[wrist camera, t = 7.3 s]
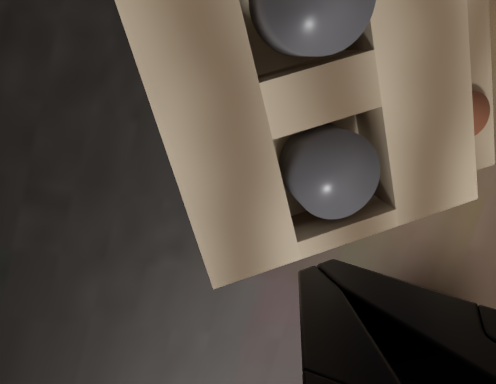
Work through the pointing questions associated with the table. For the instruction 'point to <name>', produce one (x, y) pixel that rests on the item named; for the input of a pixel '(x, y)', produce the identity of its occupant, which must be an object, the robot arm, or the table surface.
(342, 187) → the button
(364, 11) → the button middle
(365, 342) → the robot arm
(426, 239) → the table surface
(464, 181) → the button board
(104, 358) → the table surface
